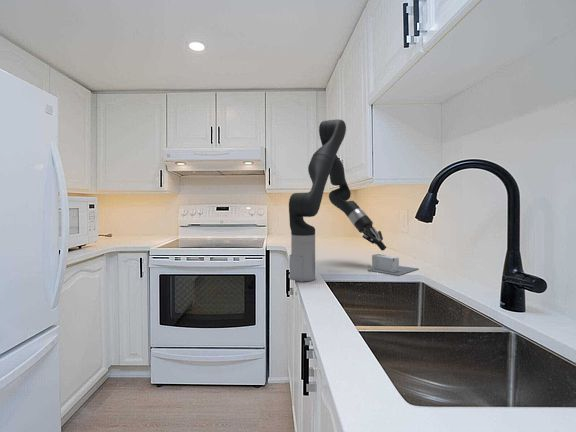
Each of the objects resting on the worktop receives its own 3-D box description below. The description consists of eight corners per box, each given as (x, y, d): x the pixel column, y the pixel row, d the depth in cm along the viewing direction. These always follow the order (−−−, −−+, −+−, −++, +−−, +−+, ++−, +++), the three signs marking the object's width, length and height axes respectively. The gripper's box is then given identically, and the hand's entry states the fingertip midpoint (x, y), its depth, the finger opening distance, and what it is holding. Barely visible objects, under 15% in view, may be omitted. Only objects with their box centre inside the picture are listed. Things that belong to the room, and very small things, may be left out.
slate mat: (398, 275, 135) (398, 274, 135) (368, 271, 145) (368, 270, 145) (418, 269, 148) (418, 268, 148) (389, 265, 158) (389, 264, 158)
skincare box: (378, 266, 152) (399, 271, 142) (371, 268, 150) (392, 273, 140) (378, 253, 152) (399, 257, 141) (371, 254, 150) (392, 258, 139)
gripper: (357, 215, 150) (382, 245, 142) (373, 214, 159) (397, 242, 151) (347, 226, 154) (370, 256, 146) (363, 225, 163) (386, 253, 155)
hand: (384, 249), depth 148 cm, fingers closed
